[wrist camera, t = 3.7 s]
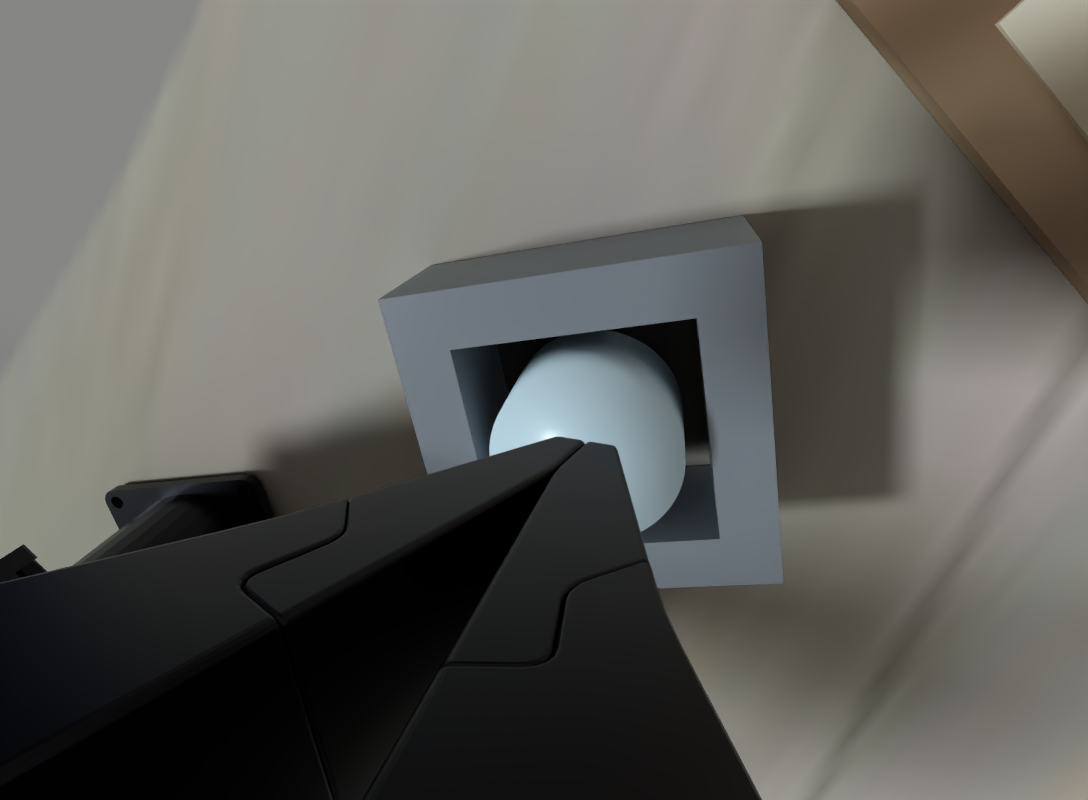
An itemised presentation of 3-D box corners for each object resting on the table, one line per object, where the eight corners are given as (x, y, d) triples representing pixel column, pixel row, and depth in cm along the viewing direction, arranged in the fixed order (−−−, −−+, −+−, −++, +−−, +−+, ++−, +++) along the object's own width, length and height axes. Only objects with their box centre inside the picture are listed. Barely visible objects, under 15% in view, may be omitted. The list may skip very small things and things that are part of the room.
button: (531, 489, 20) (510, 547, 18) (498, 341, 18) (470, 380, 16) (690, 477, 19) (695, 537, 16) (673, 318, 17) (673, 356, 15)
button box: (494, 520, 23) (461, 596, 19) (430, 265, 20) (377, 299, 16) (763, 502, 21) (783, 583, 17) (742, 215, 18) (761, 241, 14)
